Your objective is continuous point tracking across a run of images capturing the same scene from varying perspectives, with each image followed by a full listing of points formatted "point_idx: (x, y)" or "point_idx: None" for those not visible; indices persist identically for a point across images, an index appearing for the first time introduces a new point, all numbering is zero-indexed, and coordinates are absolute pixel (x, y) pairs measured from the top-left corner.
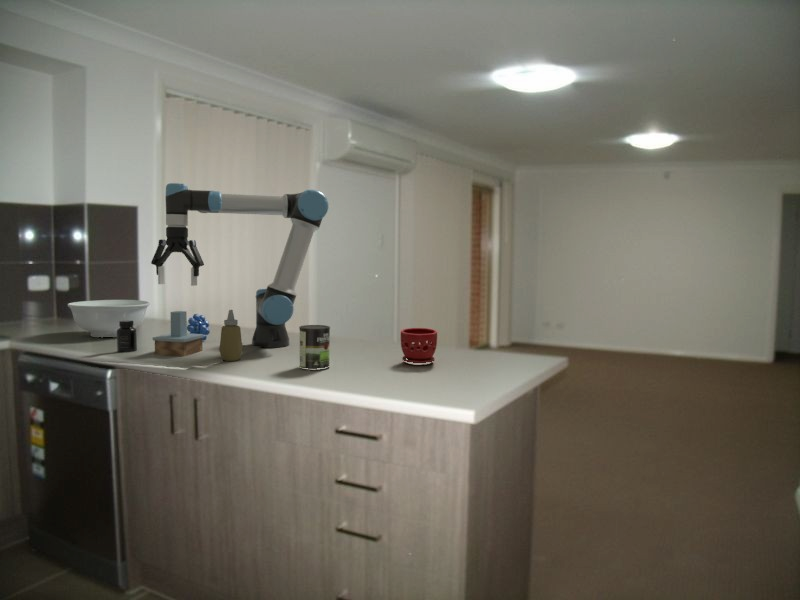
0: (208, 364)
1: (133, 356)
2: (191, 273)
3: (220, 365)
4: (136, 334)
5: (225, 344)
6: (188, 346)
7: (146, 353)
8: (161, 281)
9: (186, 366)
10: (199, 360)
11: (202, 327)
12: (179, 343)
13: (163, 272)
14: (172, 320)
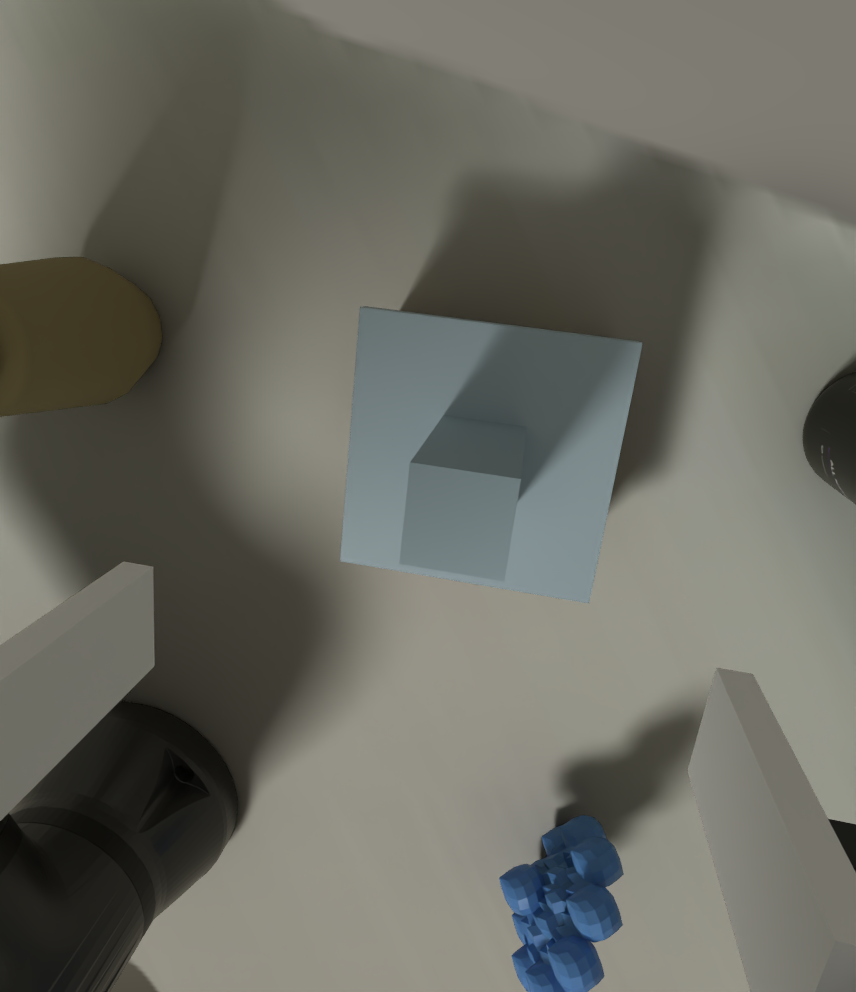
0: (169, 160)
1: (761, 309)
2: (9, 663)
3: (90, 148)
4: (853, 485)
5: (47, 261)
6: None
7: (719, 430)
8: (717, 730)
9: (259, 58)
10: (280, 272)
11: (520, 880)
12: None
13: (743, 914)
14: (503, 455)
